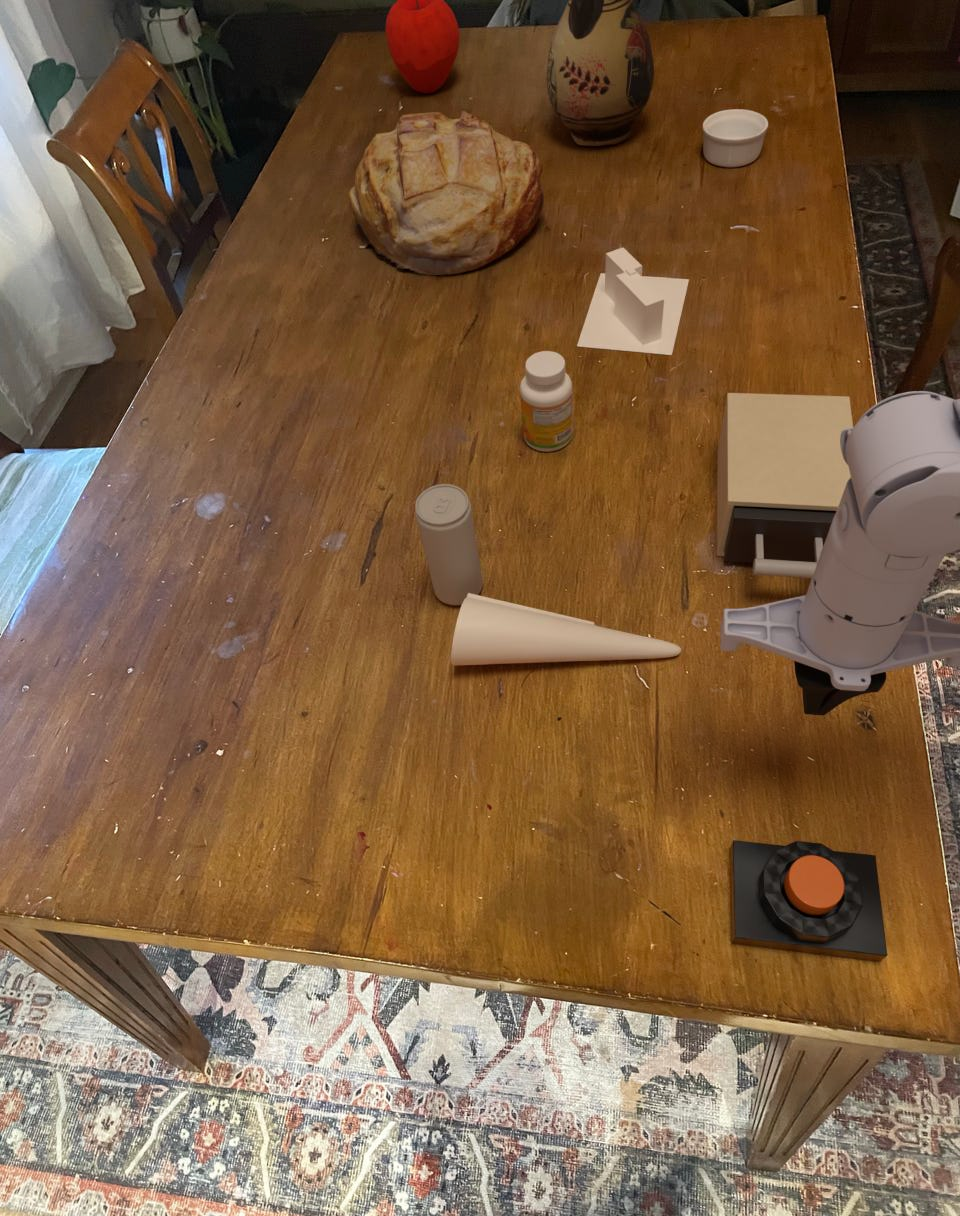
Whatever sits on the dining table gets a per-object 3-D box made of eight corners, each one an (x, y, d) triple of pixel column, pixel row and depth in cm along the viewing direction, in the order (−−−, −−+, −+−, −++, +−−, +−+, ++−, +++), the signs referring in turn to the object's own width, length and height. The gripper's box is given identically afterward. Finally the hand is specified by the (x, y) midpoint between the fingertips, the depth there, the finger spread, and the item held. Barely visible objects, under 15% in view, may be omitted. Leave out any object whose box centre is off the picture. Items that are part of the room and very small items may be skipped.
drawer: (841, 605, 75) (859, 562, 70) (724, 597, 77) (734, 554, 72) (827, 463, 85) (842, 417, 80) (724, 459, 87) (732, 413, 82)
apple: (477, 77, 145) (468, -15, 134) (440, 108, 139) (427, 15, 128) (419, 68, 149) (406, -22, 138) (381, 98, 144) (365, 7, 133)
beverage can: (490, 574, 82) (477, 488, 72) (473, 613, 79) (458, 529, 70) (444, 564, 83) (425, 478, 73) (426, 602, 81) (404, 519, 71)
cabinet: (841, 563, 78) (863, 507, 72) (716, 556, 80) (727, 500, 74) (830, 455, 86) (849, 396, 80) (717, 450, 88) (727, 392, 82)
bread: (406, 177, 130) (380, 71, 118) (573, 187, 120) (562, 71, 108) (324, 270, 118) (286, 162, 106) (501, 290, 108) (480, 173, 96)
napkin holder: (673, 355, 98) (678, 312, 93) (576, 347, 100) (576, 305, 96) (689, 278, 106) (694, 235, 101) (599, 273, 109) (599, 231, 104)
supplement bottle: (526, 418, 94) (521, 345, 86) (574, 419, 93) (574, 346, 85) (520, 452, 91) (515, 380, 83) (571, 454, 90) (570, 381, 82)
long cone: (669, 722, 73) (450, 678, 75) (674, 663, 77) (467, 623, 79) (683, 684, 68) (450, 638, 71) (688, 624, 72) (468, 583, 75)
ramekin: (687, 160, 122) (690, 129, 119) (720, 133, 126) (724, 102, 122) (742, 176, 118) (747, 145, 115) (774, 148, 122) (780, 117, 118)
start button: (835, 866, 60) (842, 858, 58) (840, 918, 58) (846, 911, 56) (782, 860, 60) (787, 852, 59) (785, 912, 58) (790, 904, 57)
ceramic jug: (592, 99, 136) (594, -143, 112) (670, 124, 129) (691, -128, 104) (520, 144, 130) (506, -102, 105) (598, 173, 123) (602, -83, 98)
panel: (869, 862, 63) (882, 846, 60) (880, 962, 59) (895, 949, 56) (729, 847, 64) (736, 830, 61) (731, 943, 60) (738, 930, 58)
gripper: (735, 635, 47) (707, 744, 58) (1019, 654, 45) (933, 764, 56) (733, 538, 51) (706, 657, 62) (993, 550, 49) (918, 672, 60)
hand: (813, 702), depth 59 cm, fingers closed
